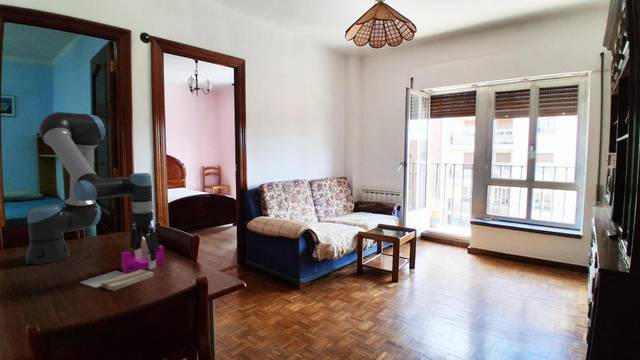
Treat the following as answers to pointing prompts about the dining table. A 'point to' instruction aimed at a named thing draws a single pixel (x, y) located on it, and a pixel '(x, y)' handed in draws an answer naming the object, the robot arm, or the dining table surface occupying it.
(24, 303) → the dining table surface
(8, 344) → the dining table surface
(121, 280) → the board
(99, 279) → the mat
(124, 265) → the toy block
